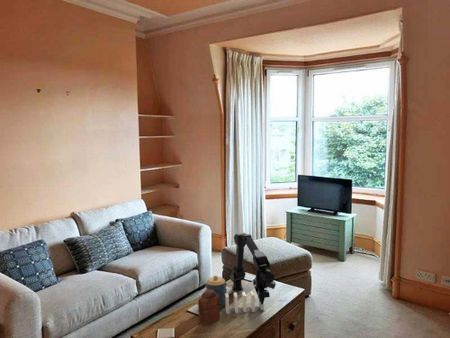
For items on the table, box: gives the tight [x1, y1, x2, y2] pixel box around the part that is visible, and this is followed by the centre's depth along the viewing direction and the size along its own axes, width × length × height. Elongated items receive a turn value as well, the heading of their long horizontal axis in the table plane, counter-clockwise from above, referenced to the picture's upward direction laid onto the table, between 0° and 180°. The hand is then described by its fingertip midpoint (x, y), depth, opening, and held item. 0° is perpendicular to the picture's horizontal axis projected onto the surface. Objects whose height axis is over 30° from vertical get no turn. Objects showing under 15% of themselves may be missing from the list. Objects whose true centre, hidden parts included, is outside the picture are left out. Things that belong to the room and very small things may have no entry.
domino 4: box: [249, 290, 256, 312], centre depth 201 cm, size 5×2×10 cm, turn 6°
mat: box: [221, 305, 266, 316], centre depth 201 cm, size 7×24×1 cm, turn 96°
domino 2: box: [233, 291, 239, 313], centre depth 200 cm, size 5×2×10 cm, turn 6°
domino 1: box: [224, 292, 230, 314], centre depth 199 cm, size 5×2×10 cm, turn 6°
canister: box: [204, 275, 228, 308], centre depth 210 cm, size 13×13×18 cm
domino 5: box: [258, 299, 265, 310], centre depth 201 cm, size 5×2×10 cm, turn 6°
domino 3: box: [241, 291, 247, 312], centre depth 200 cm, size 5×2×10 cm, turn 6°
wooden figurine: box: [197, 289, 221, 326], centre depth 189 cm, size 12×6×18 cm, turn 125°
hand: (261, 302), depth 201 cm, fingers closed on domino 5, 5 cm apart
